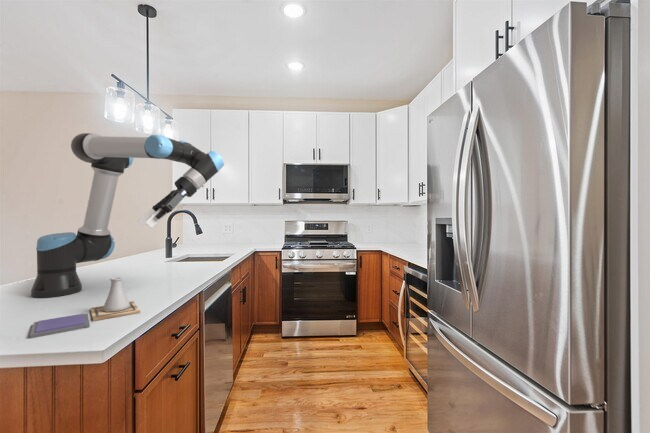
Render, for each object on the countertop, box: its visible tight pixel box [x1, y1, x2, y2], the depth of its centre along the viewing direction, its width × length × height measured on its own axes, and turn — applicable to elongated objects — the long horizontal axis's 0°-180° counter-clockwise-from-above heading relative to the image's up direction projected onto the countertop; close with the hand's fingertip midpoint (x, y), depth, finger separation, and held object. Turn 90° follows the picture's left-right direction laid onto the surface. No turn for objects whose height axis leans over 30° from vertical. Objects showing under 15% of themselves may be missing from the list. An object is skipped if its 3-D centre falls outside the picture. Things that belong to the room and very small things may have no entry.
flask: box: [102, 276, 130, 312], centre depth 100 cm, size 7×7×10 cm
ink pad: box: [29, 313, 91, 339], centre depth 86 cm, size 12×12×1 cm
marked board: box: [90, 300, 141, 322], centre depth 99 cm, size 14×12×1 cm
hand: (144, 224), depth 106 cm, fingers open, 13 cm apart
